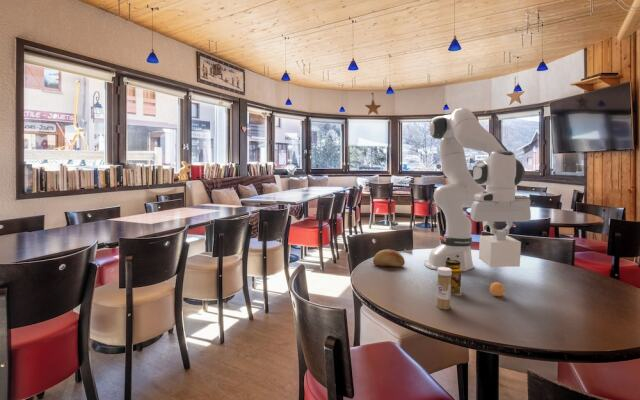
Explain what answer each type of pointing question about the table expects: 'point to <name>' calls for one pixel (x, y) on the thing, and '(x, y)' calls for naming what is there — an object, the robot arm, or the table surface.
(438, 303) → the sprinkles bottle
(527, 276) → the table surface
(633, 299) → the table surface
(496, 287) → the ball
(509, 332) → the table surface
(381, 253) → the bread roll
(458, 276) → the condiment
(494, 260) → the white box
